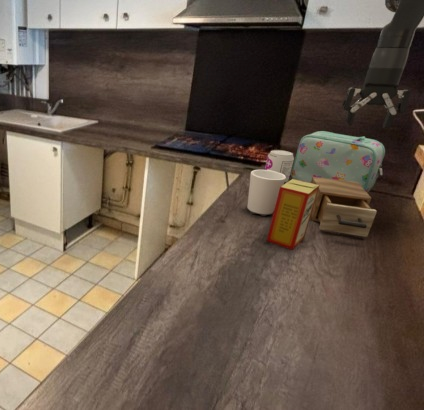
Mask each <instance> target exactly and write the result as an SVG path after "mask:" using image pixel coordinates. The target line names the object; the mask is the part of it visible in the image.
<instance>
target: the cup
mask: <svg viewBox="0 0 424 410" xmlns="http://www.w3.org/2000/svg"><path fill="white" fill-rule="evenodd" d="M285 179H286V176H285V175H283V174H281V173H279V172H276V171H271V170H265V169H253V170H252V171H250V177H249V186H248V187H249V188H248V197H247V210H248V211H249V212H250V214H252V215H257V214H258V215H260V216H261V217H266V216H270V215H272V216H273V214H274V210H275V206H276V202H277V198H278V194H279V190H280V187H281V186H282V185H284V182H285Z"/></svg>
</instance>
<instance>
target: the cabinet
mask: <svg viewBox="0 0 424 410" xmlns="http://www.w3.org/2000/svg"><path fill="white" fill-rule="evenodd" d="M311 183H313V184H318V185H320V186H319V189H318V193H317V196H316V200H315V203H314V206H313V210H312V213H311V216H310V219H311V221H313V222H319V223H320V221H319V219H318V217H317V212H318V209H319V205H320V202H321V199H322V196H323V194H325V195H332V196H340V197H347V198H355V199H362V200H364V201H365V202H366V203H367V204H368V206H369V207H370V204H371V201H372V197H371V196H370V195H369V193H367V192H366V191H365V190H364V189H363V188H362V187H361V186H360V184H359V183H358V182H351V181H343V180H335V179H326V178H318V177H312V181H311Z"/></svg>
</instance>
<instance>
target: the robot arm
mask: <svg viewBox="0 0 424 410" xmlns="http://www.w3.org/2000/svg"><path fill="white" fill-rule="evenodd" d="M384 3H385V4H384V5H385V7H386V9H387V10H388V11H390V12H391V13H394V14H393V16H392V18H391V20H390V21H389V23H387V24H385V25H384V26H383V27H382V29H381V31H380V34H379V37H378V40H377V42H376V46H375V49H374V51H373V53H372V56H371V58H370V62H369V65H368V68H367V72H366V75H365V78H364V81H363V85H362V87H361V88H356V87H355V88H354V87H349V88H348V89H347V91H346V93H345V97H344V100H343V102H342V105H341V109H342V110H344V111H346V112H347V115H346V118H345V124H346V125H347V126H348V127H352V126H353V123H354V120H355V117H356V112H357V110H359V109H360V108H362V107H364V106H365V105H367V106H375V105H376V106H380V107H382V106H383V107H384V108H385V110H386V111H387V114H386V115H385V118H384V120H383V124H382V126H381V127H382V128H383V129H388V128H389V127H392V125H393V122H394V119H395V117H396V116H397V115H398V114H399V115H400V114H404V113H406V111H407V107H408V103H409V101H410V96H411V93H412V91H411V90H409V89H403V90H401V89H399V90H398V87H399V85H400V81H401V78H402V75H403V72H404V70H405V67H406V65H407V61H408V58H409V53H410V48H411V46H412V42H413V39H414V37H415V33H416V30H417V29H418V27H419V25H420V24H421V23H422V21H423V19H424V0H385V1H384ZM357 94H359V96H360V98H358V99H357V100H356V101H355V102H354V104H352V105H351V103H352V100H353V98H354V97H356V96H357ZM396 96H397V98H398V99H399V100H398V103H397V107H396V108H395V105H394V103H393V101H392V99H393V98H394V97H396Z"/></svg>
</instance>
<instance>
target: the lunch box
mask: <svg viewBox="0 0 424 410" xmlns="http://www.w3.org/2000/svg"><path fill="white" fill-rule="evenodd" d="M385 155H386V148H385V145H384V144H383V142H380V141H378V140H377V139H372V138H367V137H366V136H365V135H364V136H352V135H346V134H340V133H335V132H332V131H331V132H330V131H325V130H320V131H314V132H312V133H310V134H306V135H304V136H303V137H301V139H300V141H299V144H298V146H297V150H296V154H295V157H294V161H293V165H292V169H291V178H292V179H296V180H300V181H305V182H309V183H311V181H312V177H318V178H326V179H335V180H343V181H351V182H358V183H359V184H360V186H361V187H362V188H363V189H364V190H365V191H366V192H367V194H369V192H370V191H371V190H372V189H373V187H374V186H375V183H376V181H377V179H379V175H380V176H383V161H384V157H385Z"/></svg>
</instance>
